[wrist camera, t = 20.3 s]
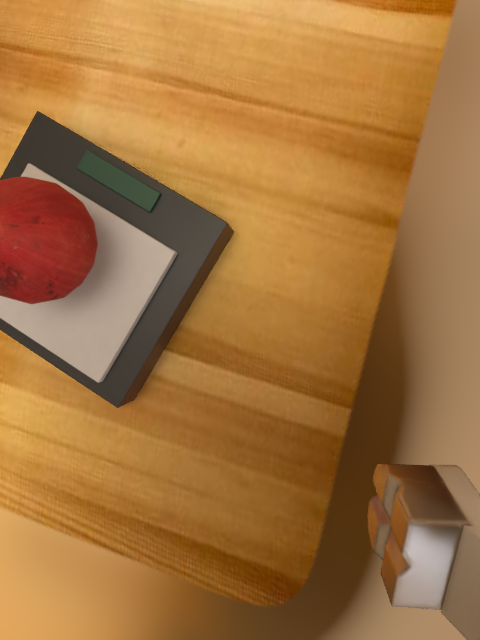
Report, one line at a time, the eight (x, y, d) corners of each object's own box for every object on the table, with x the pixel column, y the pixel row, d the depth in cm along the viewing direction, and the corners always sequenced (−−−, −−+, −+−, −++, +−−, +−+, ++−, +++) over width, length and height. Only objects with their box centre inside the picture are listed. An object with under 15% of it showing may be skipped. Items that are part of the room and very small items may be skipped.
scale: (234, 231, 27) (225, 220, 24) (134, 400, 28) (113, 410, 25) (60, 128, 28) (30, 105, 25) (-31, 291, 29) (-69, 288, 26)
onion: (108, 316, 25) (16, 314, 17) (13, 292, 25) (-117, 279, 17) (132, 212, 24) (51, 161, 17) (36, 191, 25) (-85, 132, 17)
